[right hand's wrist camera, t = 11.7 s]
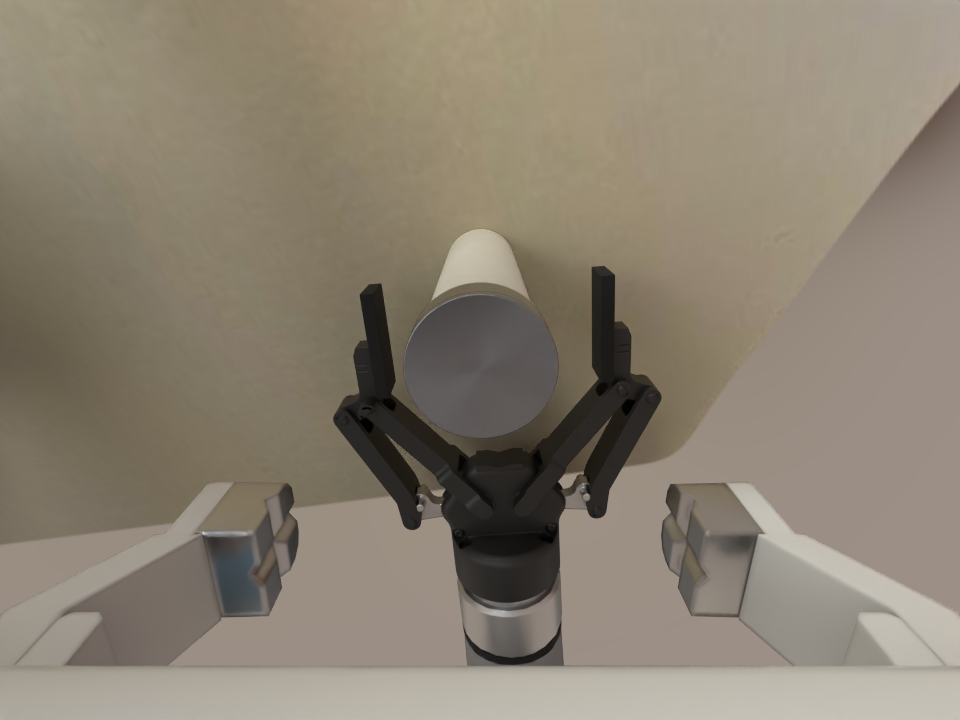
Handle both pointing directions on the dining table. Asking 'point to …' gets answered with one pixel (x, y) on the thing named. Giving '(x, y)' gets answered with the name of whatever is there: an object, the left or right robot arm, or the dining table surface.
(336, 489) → the dining table surface
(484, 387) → the lid
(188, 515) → the right robot arm
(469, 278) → the white cylinder
